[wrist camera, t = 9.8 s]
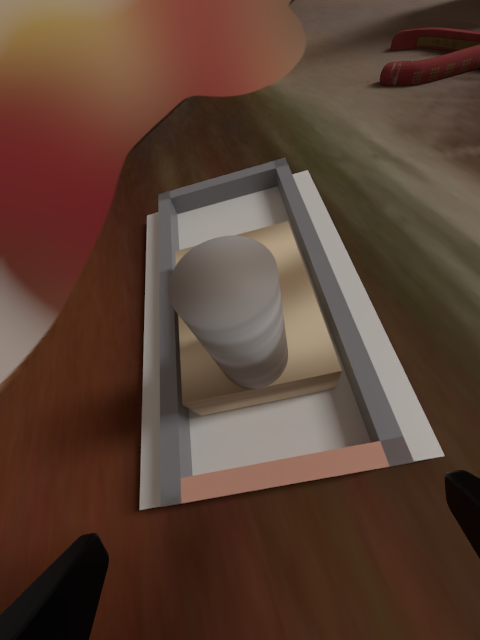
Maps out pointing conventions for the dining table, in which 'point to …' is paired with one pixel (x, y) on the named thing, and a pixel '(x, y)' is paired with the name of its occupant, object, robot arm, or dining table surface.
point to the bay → (281, 415)
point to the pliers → (465, 56)
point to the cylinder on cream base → (249, 322)
